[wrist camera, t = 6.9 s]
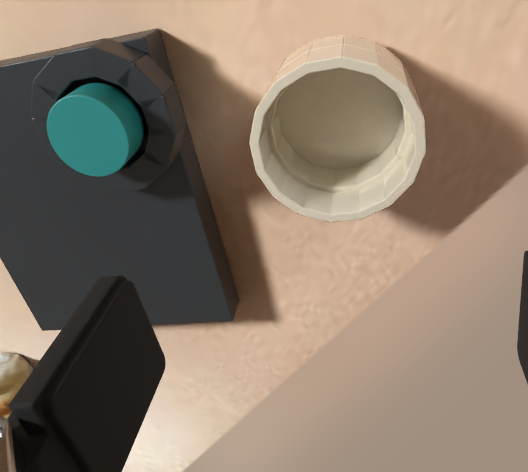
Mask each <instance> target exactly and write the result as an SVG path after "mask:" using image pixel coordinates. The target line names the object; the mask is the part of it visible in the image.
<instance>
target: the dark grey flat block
mask: <svg viewBox="0 0 528 472" xmlns="http://www.w3.org/2000/svg"><path fill="white" fill-rule="evenodd" d="M89 83H102V84H106V85H110V86H112V87H115V88H117V89H118V90H120V91H121V92H123V93H124V94H125V95H127V96H128V97H129V98H130V99H131V100H132V102H133V103H134V104H135V106H136V107H137V109H138V111H139V112H140V115H141V117H142V121H143V126H144V136H143V141H142V144H141V146H140V148H139V149H138V151H137V152H136V153H135V154H134V155H133V156H132V157H131V158H130V159H129V160H128V162H127V163H126V164H125V165H124V166H123V167H122V168H121V169H120V170H119V171H117V172H116V173H114V174H111V175H108V176H102V177H95V176H89V175H85V174H82V173H80V172H78V171H76V170H74V169H73V168H71V167H70V166H68V165H67V164H66V163H65V162H64V161H63V160H62V159H61V158H60V157H59V156H58V155H57V153H56V152H55V150H54V149H53V147H52V145H51V143H50V140H49V137H48V133H47V118H48V115H49V112H50V110H51V108H52V107H53V105H54V104H55V103H56V102H57V101H58V100H60V99H61V98H63V97H65V96H66V95H68V94H69V93H71V92H72V91H74V90H76V89H77V88H79V87H80V86H83V85H85V84H89ZM0 258H1V260H2V262H3V263H4V265H5V267H6V269H7V270H8V272H9V274H10V275H11V277H12V279H13V281H14V282H15V284H16V286H17V288H18V289H19V291H20V293H21V295H22V296H23V298H24V300H25V302H26V303H27V305H28V307H29V308H30V310H31V312H32V314H33V315H34V317H35V319H36V321H37V322H38V324H39V326H40V328H41V329H42V330H43V331H44V330H62V329H63V327H64V326H65V325H66V323H67V322H68V320H69V319H70V317H71V316H72V315H73V313H74V312H75V310H76V309H77V308H78V306H79V305H80V303H81V302H82V301H83V299H84V298H85V296H86V295H87V294H88V292H89V291H90V289H91V288H92V286H93V285H94V284H95V282H96V281H97V280H98V279H99V278H100V277H105V276H118V275H122V276H124V277H126V278H127V280H129V281H132V282H133V284H134V286H135V288H136V291H137V293H138V295H139V298H140V300H141V302H142V305H143V307H144V309H145V312H146V314H147V316H148V319H149V321H150V323H151V325H165V324H185V323H205V322H225V321H233V319H234V316H235V313H236V310H237V306H238V303H239V298H238V294H237V291H236V288H235V284H234V281H233V277H232V274H231V271H230V267H229V264H228V261H227V257H226V254H225V250H224V247H223V244H222V240H221V237H220V233H219V230H218V227H217V223H216V220H215V216H214V213H213V210H212V206H211V203H210V200H209V196H208V193H207V189H206V186H205V183H204V179H203V176H202V172H201V169H200V166H199V162H198V159H197V155H196V152H195V149H194V145H193V142H192V139H191V135H190V132H189V128H188V125H187V122H186V118H185V115H184V111H183V108H182V105H181V101H180V98H179V95H178V91H177V88H176V84H175V81H174V78H173V74H172V71H171V67H170V64H169V61H168V57H167V54H166V50H165V47H164V44H163V40H162V37H161V34H160V30H159V29H153V30H148V31H143V32H138V33H134V34H129V35H124V36H119V37H114V38H108V39H106V38H105V39H100V40H96V41H91V42H86V43H81V44H76V45H72V46H70V47H66V48H61V49H56V50H51V51H46V52H41V53H36V54H31V55H27V56H22V57H17V58H12V59H7V60H2V61H0Z"/></svg>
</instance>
